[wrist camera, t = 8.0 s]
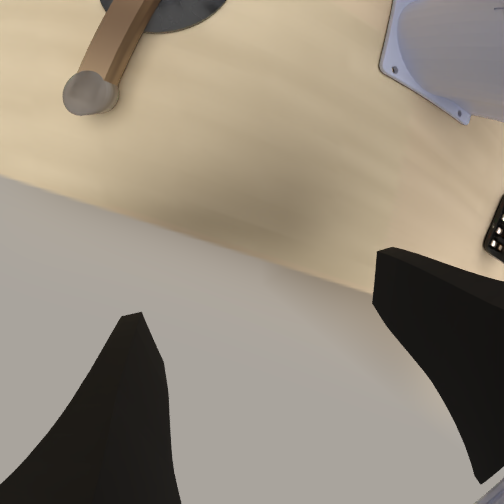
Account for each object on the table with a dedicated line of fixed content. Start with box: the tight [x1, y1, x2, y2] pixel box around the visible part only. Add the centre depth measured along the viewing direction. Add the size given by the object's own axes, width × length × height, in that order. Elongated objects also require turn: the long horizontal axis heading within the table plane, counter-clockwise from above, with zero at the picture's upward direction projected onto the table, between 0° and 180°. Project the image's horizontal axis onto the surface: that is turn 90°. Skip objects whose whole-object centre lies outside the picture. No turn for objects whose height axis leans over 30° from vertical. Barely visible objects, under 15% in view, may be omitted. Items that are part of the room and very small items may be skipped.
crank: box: [63, 0, 161, 116], centre depth 10 cm, size 9×2×3 cm, turn 155°
